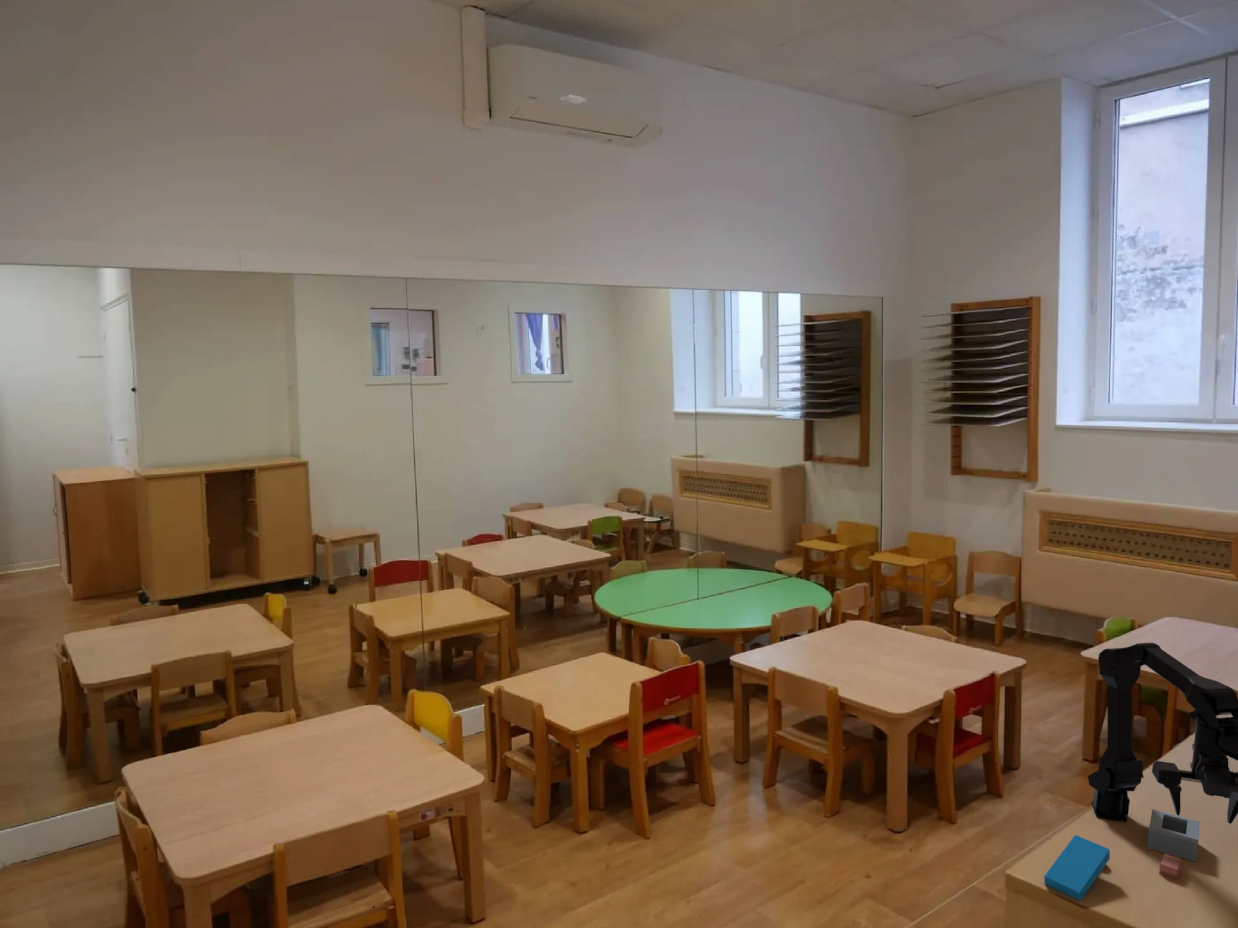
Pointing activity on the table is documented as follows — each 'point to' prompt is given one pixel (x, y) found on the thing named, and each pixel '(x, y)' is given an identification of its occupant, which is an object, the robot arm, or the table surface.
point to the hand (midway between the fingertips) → (1203, 818)
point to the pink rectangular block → (1170, 866)
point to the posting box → (1173, 835)
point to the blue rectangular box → (1077, 867)
